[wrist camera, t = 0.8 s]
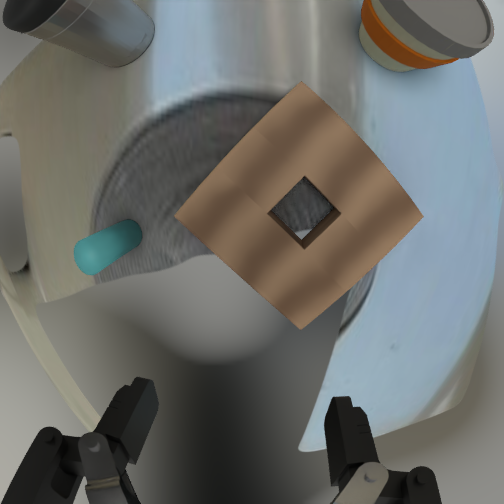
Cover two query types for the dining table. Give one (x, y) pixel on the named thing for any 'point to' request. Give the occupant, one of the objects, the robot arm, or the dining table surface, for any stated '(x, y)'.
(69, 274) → the dining table surface
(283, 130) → the socket block
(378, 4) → the reusable coffee cup
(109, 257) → the peg
